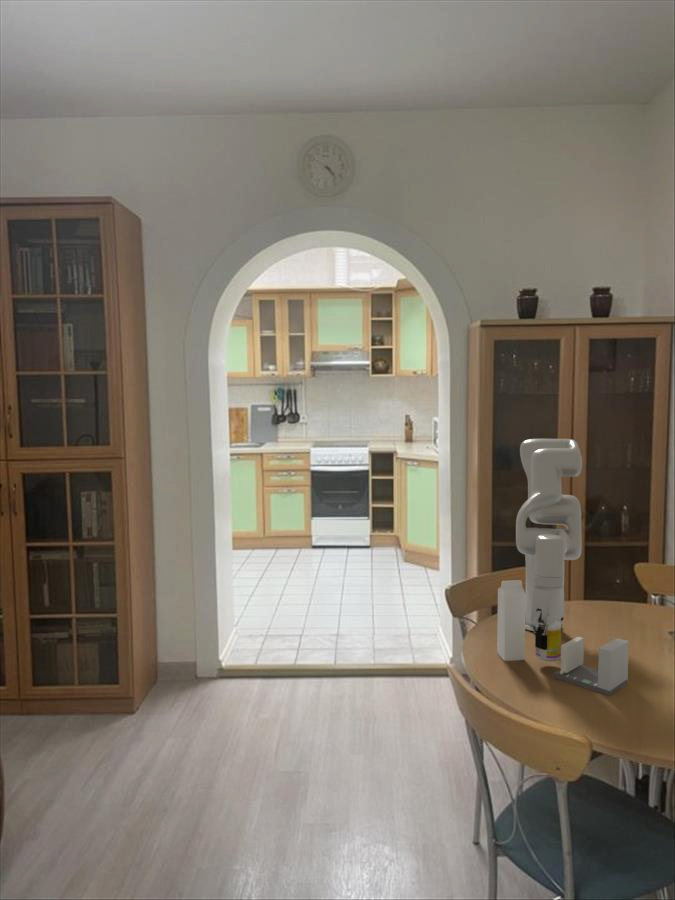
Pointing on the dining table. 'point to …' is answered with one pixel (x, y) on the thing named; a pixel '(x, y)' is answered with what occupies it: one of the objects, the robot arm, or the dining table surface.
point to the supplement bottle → (551, 643)
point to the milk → (511, 621)
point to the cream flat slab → (572, 654)
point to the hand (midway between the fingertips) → (548, 644)
